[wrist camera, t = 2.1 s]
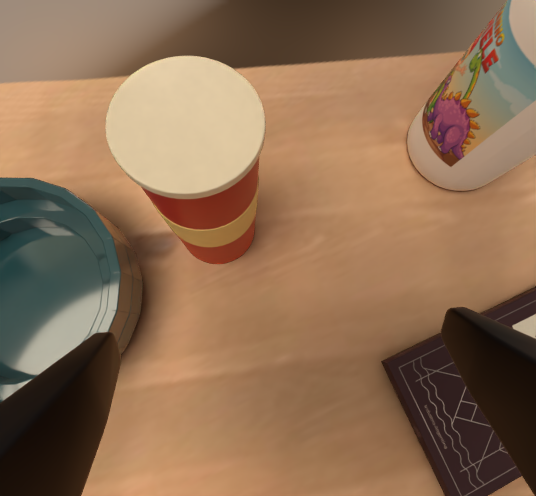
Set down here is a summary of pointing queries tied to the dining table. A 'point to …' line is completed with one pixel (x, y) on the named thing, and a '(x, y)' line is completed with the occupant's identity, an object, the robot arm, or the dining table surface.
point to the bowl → (59, 279)
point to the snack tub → (193, 150)
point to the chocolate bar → (457, 409)
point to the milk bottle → (482, 107)
